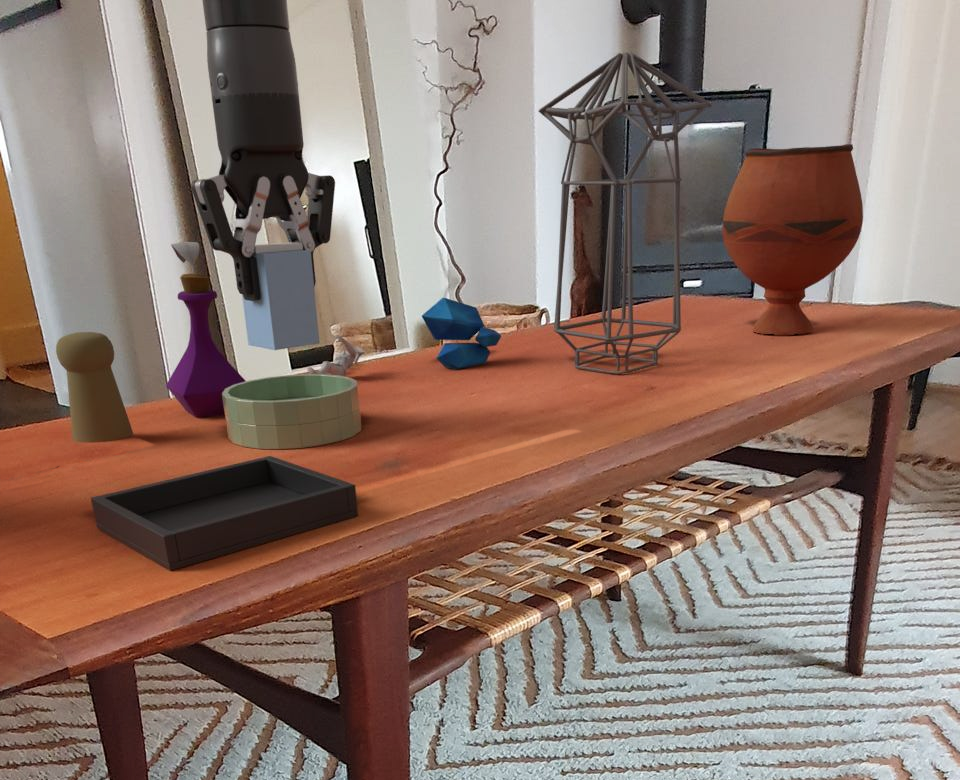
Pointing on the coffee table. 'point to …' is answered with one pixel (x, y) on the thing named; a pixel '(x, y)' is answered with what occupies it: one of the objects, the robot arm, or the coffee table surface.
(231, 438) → the bowl
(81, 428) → the cork
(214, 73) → the robot arm
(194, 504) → the tray
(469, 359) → the crystal
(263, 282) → the carton
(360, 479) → the coffee table surface
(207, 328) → the perfume bottle
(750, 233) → the goblet
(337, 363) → the seated figurine
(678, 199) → the geometric lantern
